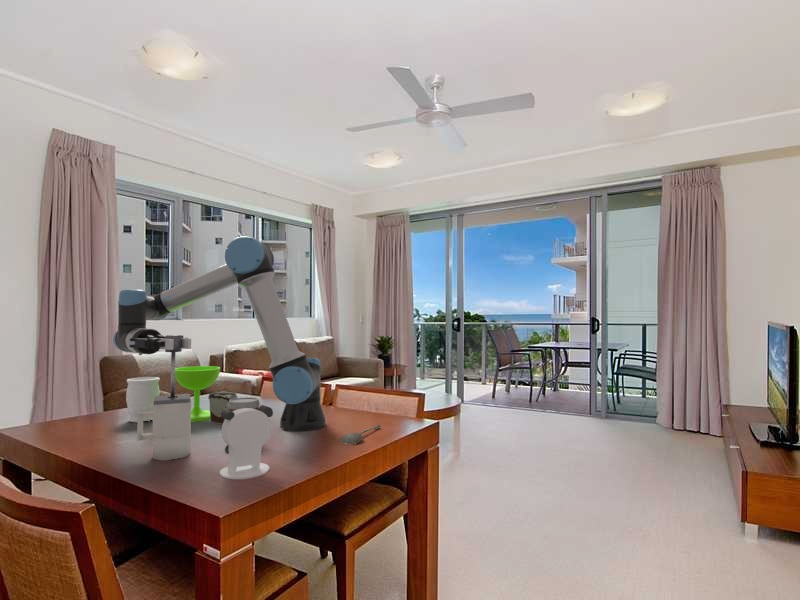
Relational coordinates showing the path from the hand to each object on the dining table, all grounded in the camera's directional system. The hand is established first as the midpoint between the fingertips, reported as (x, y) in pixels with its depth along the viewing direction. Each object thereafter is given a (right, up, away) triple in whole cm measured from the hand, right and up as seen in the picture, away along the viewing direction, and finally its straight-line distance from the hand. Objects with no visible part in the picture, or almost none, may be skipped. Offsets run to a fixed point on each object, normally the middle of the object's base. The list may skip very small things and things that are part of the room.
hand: (180, 344), depth 123 cm
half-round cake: (-3, -32, +41) cm, 52 cm away
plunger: (-3, -15, +2) cm, 16 cm away
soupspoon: (+47, -32, +22) cm, 60 cm away
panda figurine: (+21, -30, -11) cm, 38 cm away
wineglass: (-17, -32, +49) cm, 61 cm away
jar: (-34, -32, +44) cm, 64 cm away
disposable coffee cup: (+11, -31, +17) cm, 37 cm away
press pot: (-5, -30, +1) cm, 30 cm away
